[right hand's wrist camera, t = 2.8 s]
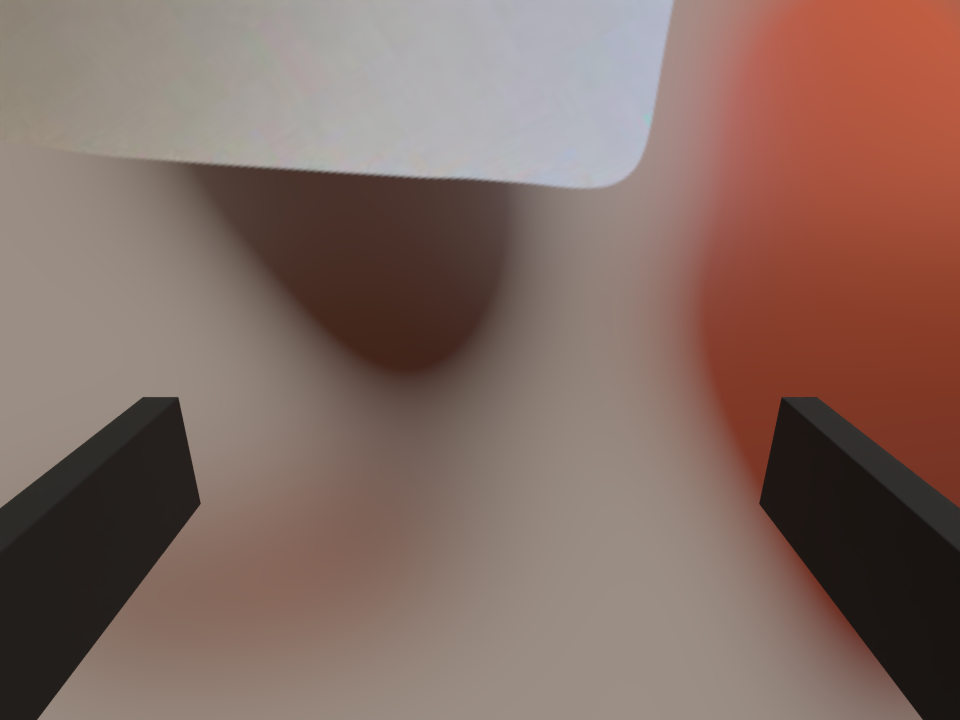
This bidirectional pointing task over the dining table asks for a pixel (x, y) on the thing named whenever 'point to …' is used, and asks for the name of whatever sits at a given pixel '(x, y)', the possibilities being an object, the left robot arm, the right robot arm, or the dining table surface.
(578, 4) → the dining table surface
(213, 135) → the dining table surface
